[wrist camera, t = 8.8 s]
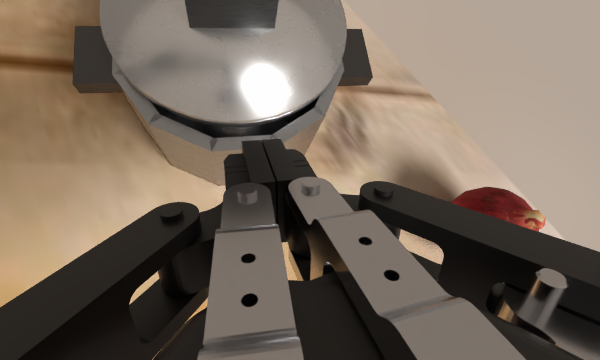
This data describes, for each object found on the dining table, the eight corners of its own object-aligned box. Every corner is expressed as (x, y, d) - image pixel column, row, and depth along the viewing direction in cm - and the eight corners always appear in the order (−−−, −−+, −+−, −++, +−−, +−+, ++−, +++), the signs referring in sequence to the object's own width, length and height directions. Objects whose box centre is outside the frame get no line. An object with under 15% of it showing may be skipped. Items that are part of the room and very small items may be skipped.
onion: (424, 266, 26) (500, 260, 19) (421, 196, 28) (489, 165, 20) (490, 272, 27) (587, 269, 19) (483, 204, 29) (570, 177, 21)
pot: (111, 195, 23) (62, 161, 17) (113, 31, 27) (73, -49, 21) (355, 173, 27) (393, 139, 21) (327, 33, 31) (351, -34, 25)
